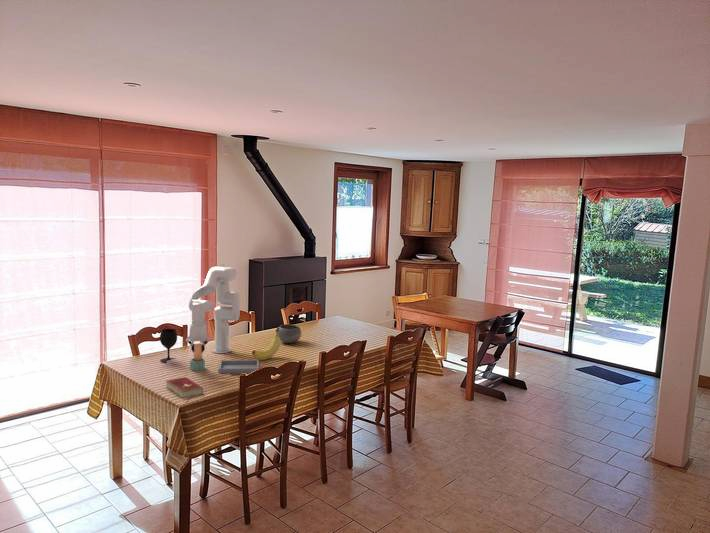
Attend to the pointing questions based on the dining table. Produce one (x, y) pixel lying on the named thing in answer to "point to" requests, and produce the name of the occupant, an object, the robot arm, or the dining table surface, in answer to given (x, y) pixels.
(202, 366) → the cup
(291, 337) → the bowl
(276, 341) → the banana
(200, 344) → the peg
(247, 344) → the dining table surface
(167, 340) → the wine glass
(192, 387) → the hardcover book
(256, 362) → the tray
